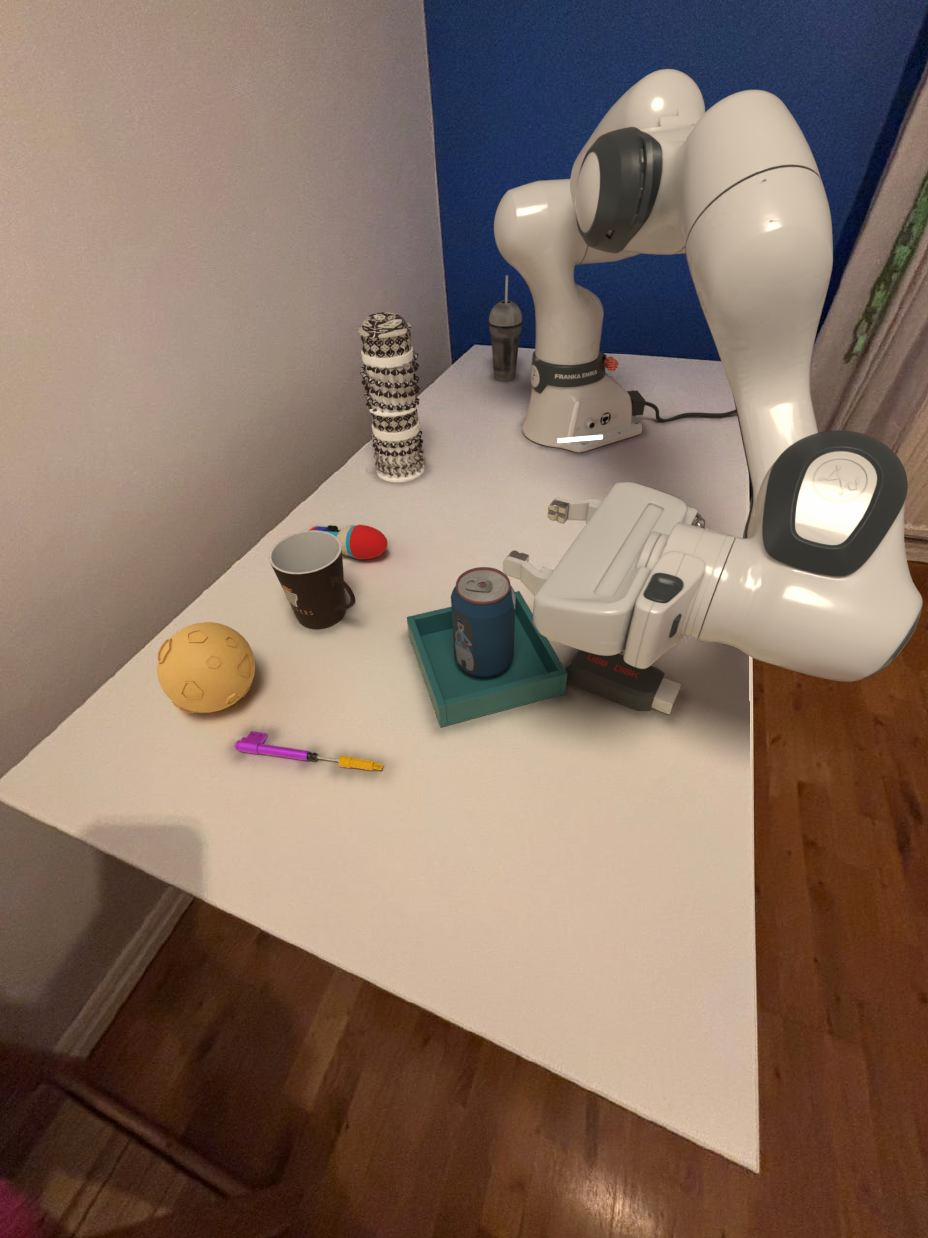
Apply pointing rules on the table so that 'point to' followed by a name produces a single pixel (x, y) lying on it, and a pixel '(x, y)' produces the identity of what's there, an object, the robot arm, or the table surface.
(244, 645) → the stress ball
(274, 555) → the coffee mug
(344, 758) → the purple orange rod tool
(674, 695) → the usb drive
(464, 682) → the bin
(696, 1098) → the table surface
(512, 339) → the beverage cup
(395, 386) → the decorative candle
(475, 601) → the soda can
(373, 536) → the toy figure
